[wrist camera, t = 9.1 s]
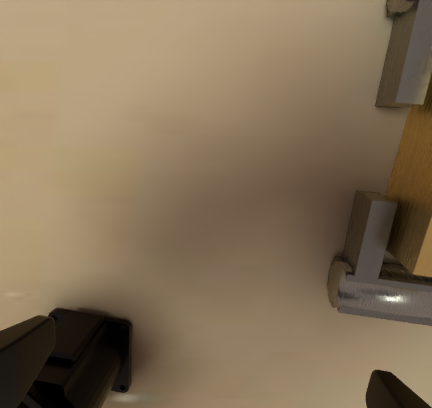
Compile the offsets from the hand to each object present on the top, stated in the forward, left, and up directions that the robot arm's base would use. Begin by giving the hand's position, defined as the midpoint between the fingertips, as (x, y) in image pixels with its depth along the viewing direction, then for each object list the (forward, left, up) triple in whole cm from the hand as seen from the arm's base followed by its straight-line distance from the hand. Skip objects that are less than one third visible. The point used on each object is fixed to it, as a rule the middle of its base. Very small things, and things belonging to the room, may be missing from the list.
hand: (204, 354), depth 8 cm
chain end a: (-1, -11, -12) cm, 16 cm away
